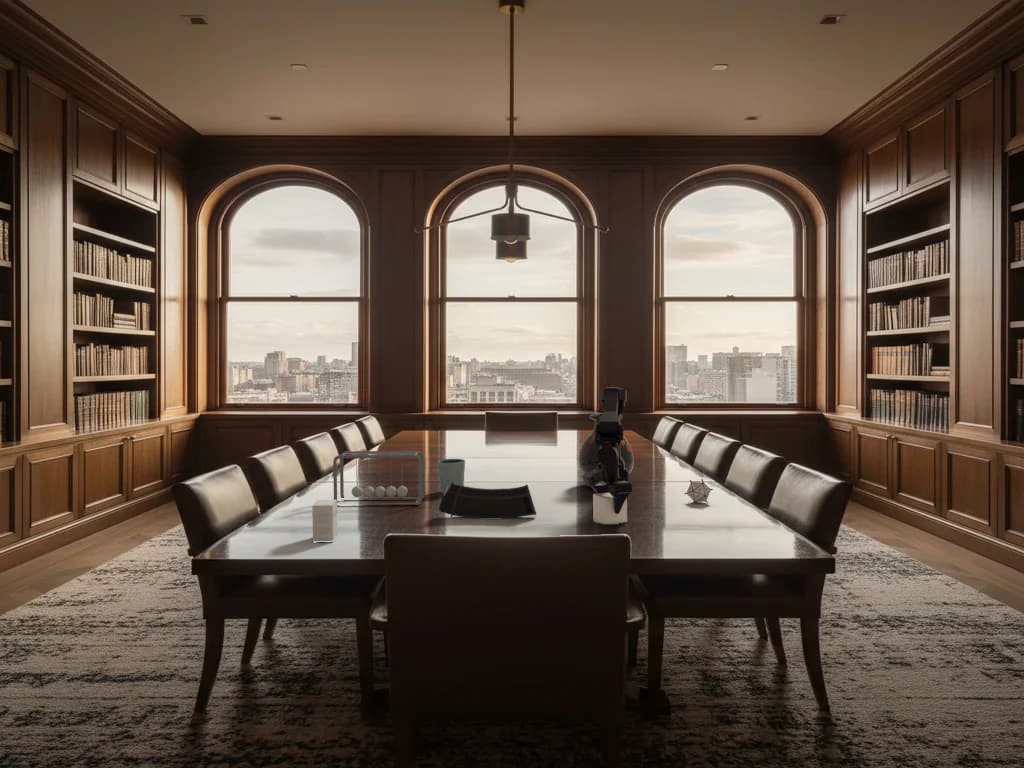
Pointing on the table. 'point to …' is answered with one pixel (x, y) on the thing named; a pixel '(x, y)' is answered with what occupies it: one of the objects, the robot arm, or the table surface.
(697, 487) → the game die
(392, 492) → the newton's cradle
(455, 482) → the green cup
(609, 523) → the disc
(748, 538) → the table surface
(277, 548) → the table surface
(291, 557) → the table surface
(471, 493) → the curved black tray
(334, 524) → the small box
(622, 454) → the amphora vase
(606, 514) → the block
